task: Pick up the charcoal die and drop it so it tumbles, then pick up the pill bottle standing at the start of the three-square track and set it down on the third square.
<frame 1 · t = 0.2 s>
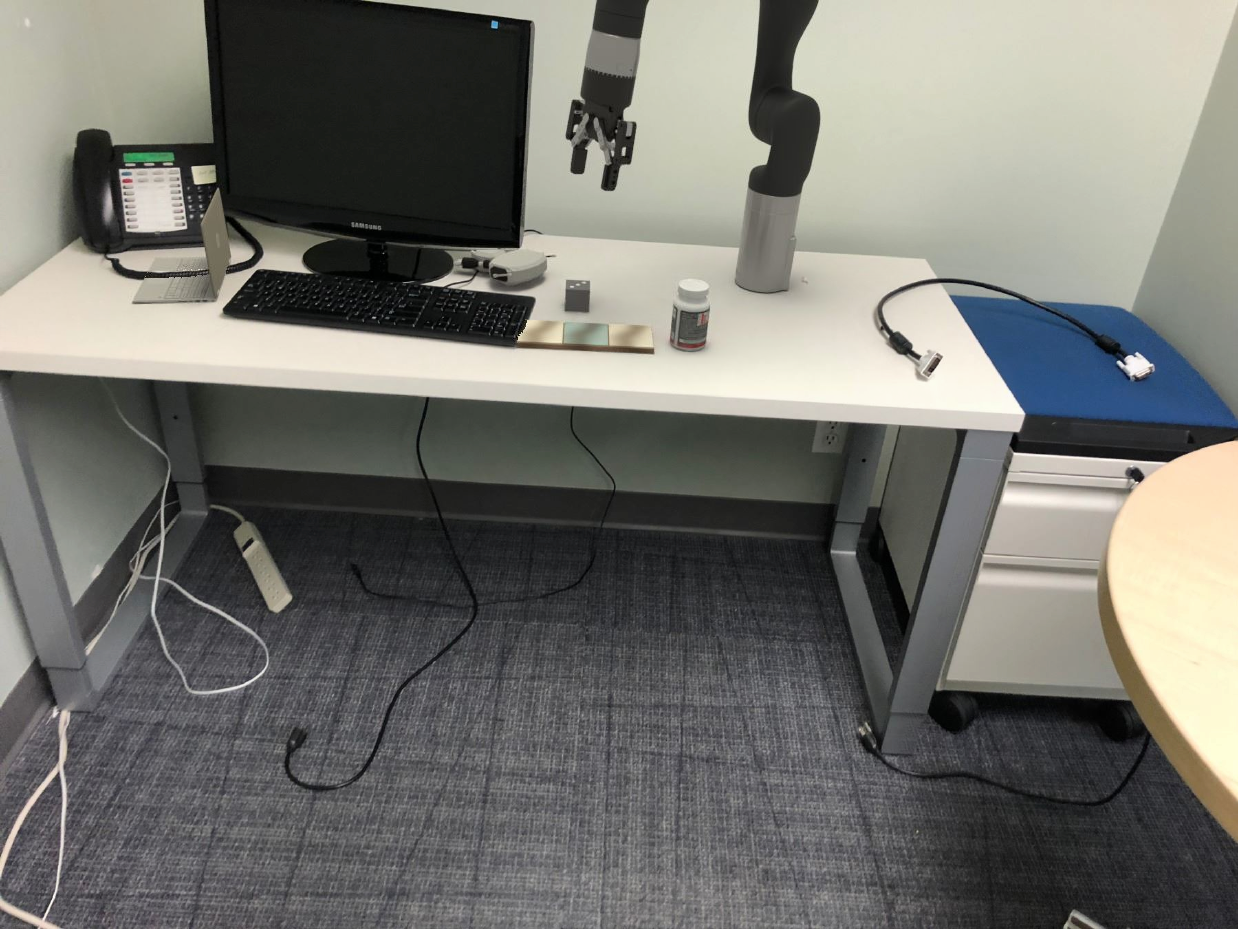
hand: (591, 181, 141), 22 cm above the table, tool pointing down, fingers open, 8 cm apart
die: (577, 307, 156), on the table
laptop: (185, 283, 155), on the table
pill bottle: (687, 345, 147), on the table
robot toy: (504, 277, 166), on the table
board: (585, 339, 146), on the table
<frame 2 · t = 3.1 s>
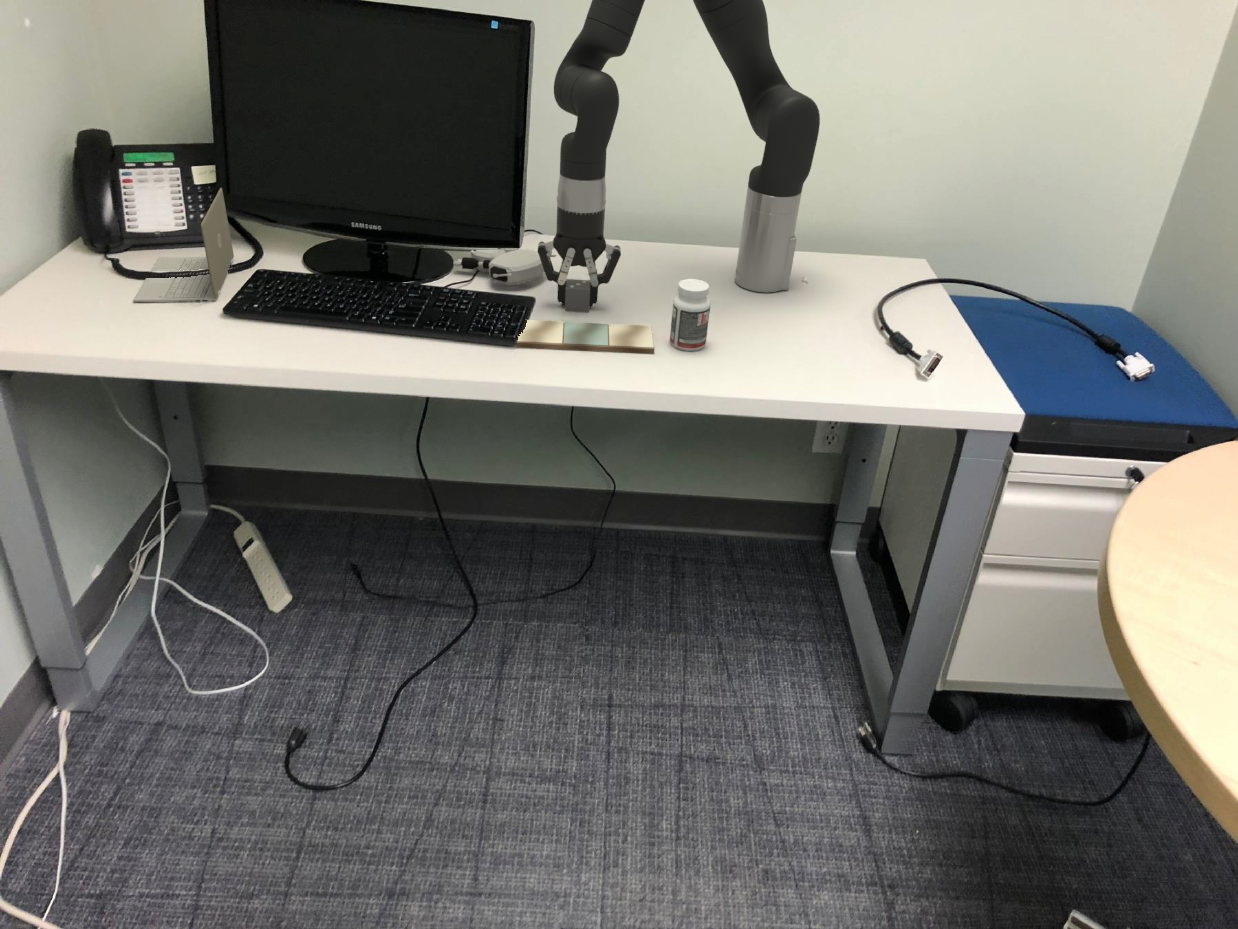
hand: (577, 303, 156), 0 cm above the table, tool pointing down, fingers closed on die, 4 cm apart
die: (577, 306, 156), on the table, touching gripper
everything else where it was.
when the fingers open (8 cm above the table, at t = 4.1 s): die drops 8 cm, on the table.
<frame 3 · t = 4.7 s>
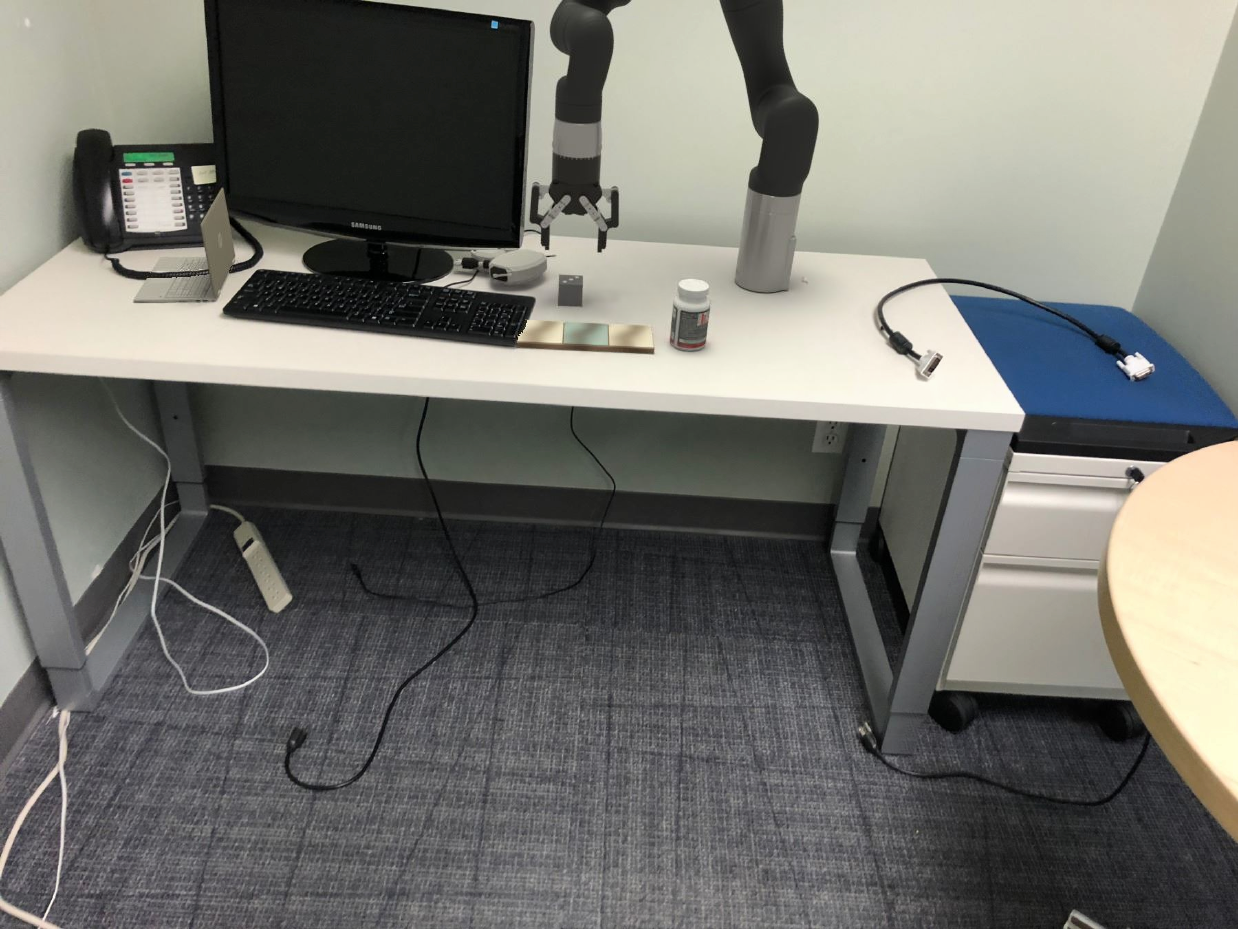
hand: (573, 249, 153), 9 cm above the table, tool pointing down, fingers open, 8 cm apart
die: (570, 301, 158), on the table
everything else where it was.
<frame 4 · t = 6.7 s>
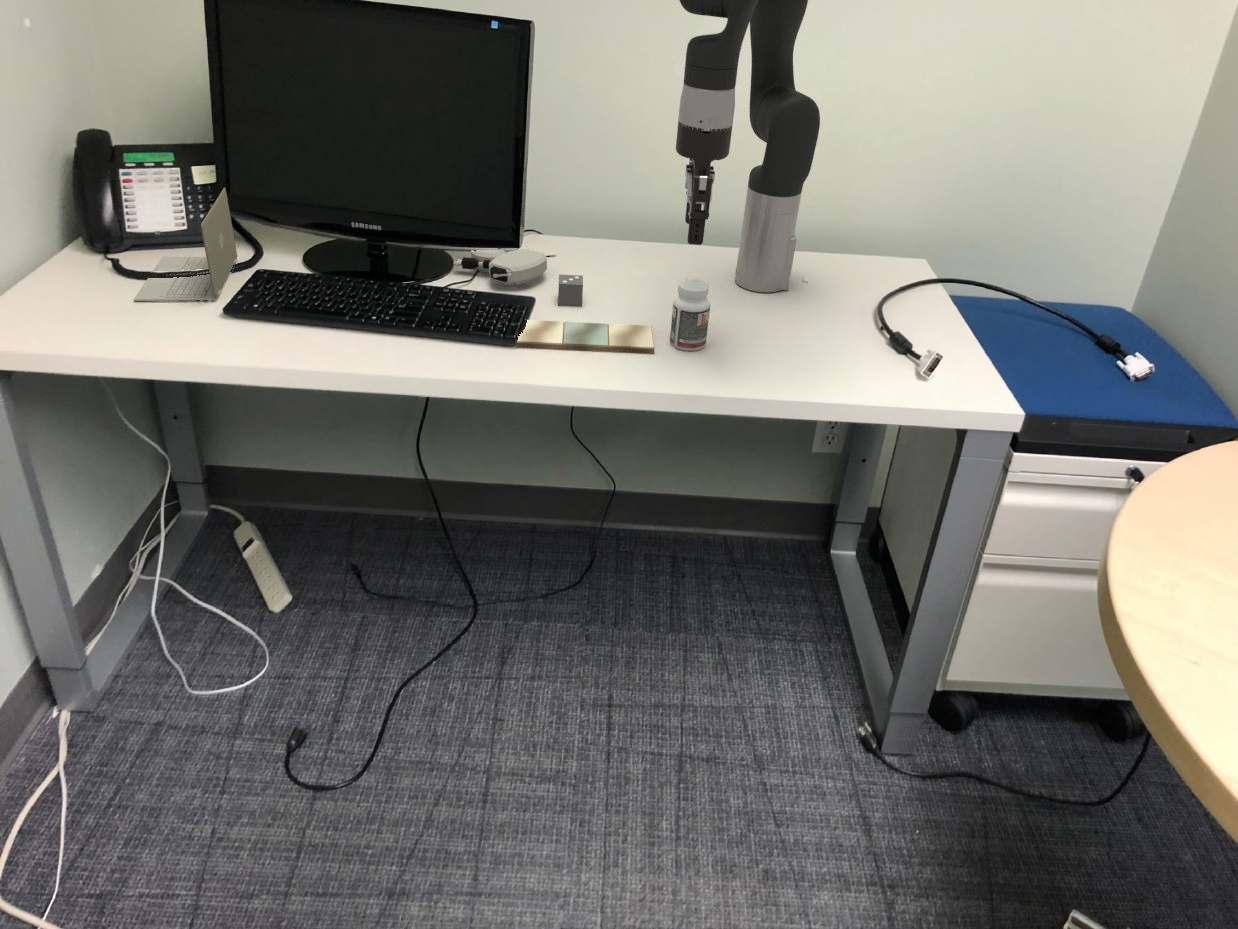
hand: (693, 233, 138), 18 cm above the table, tool pointing down, fingers open, 8 cm apart
nothing on the table moved.
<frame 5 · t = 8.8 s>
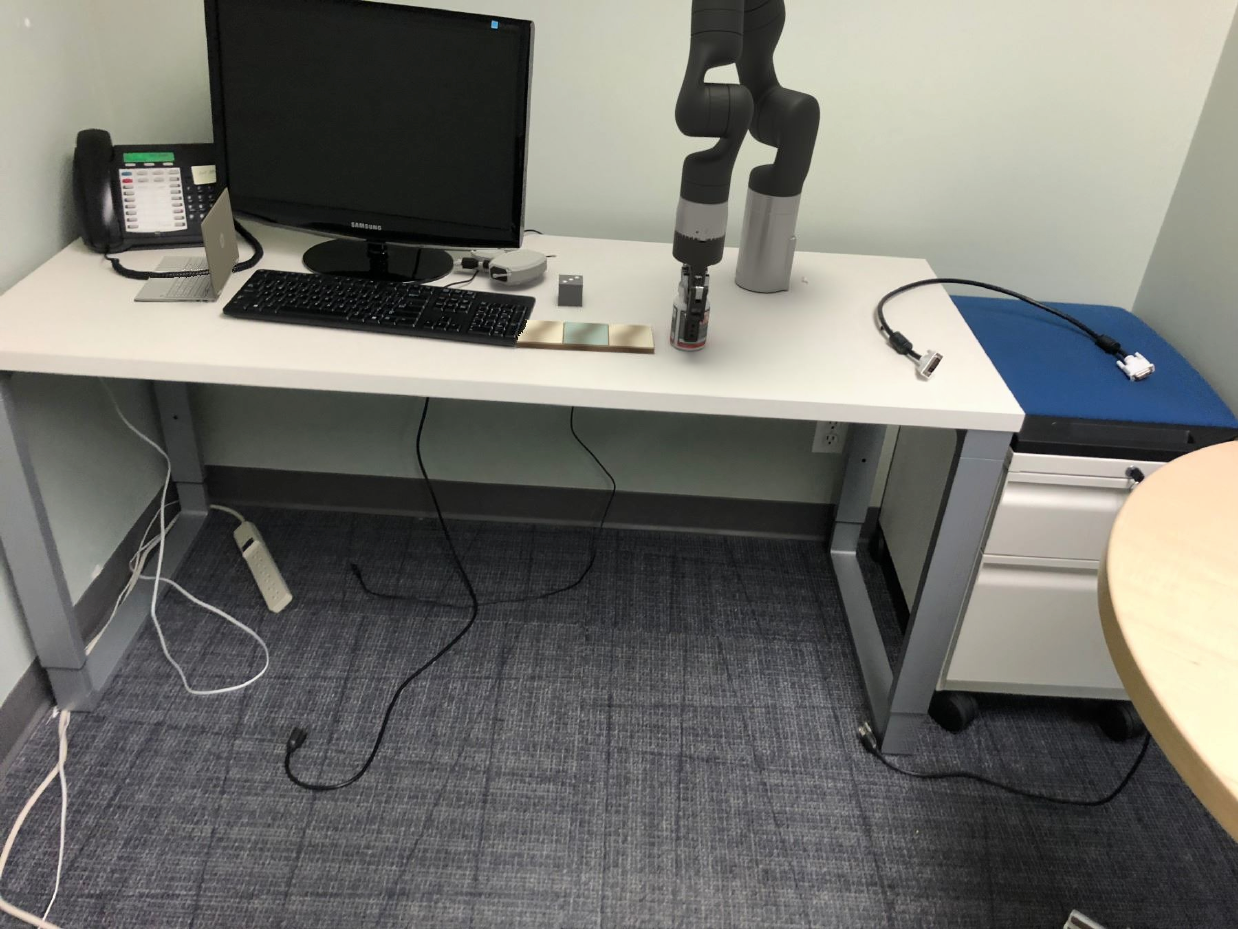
hand: (688, 331, 146), 2 cm above the table, tool pointing down, fingers closed on pill bottle, 5 cm apart
pill bottle: (687, 344, 147), on the table, touching gripper
everything else where it was.
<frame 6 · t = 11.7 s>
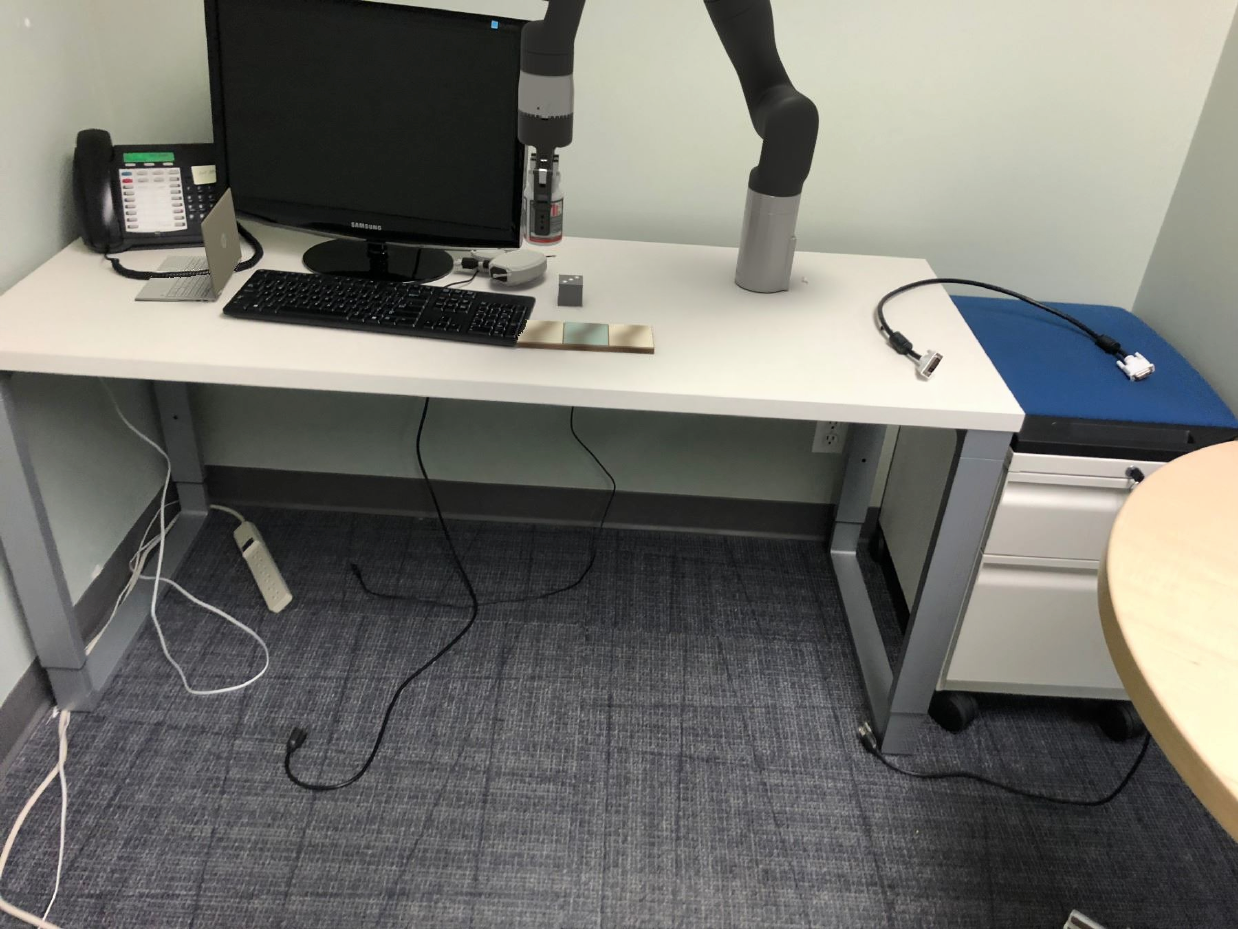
hand: (543, 226, 136), 18 cm above the table, tool pointing down, fingers closed on pill bottle, 5 cm apart
pill bottle: (542, 241, 137), point 15 cm above the table, touching gripper
when the fingers open (4 cm above the table, at t = 14.7 s): pill bottle drops 1 cm, resting on board.
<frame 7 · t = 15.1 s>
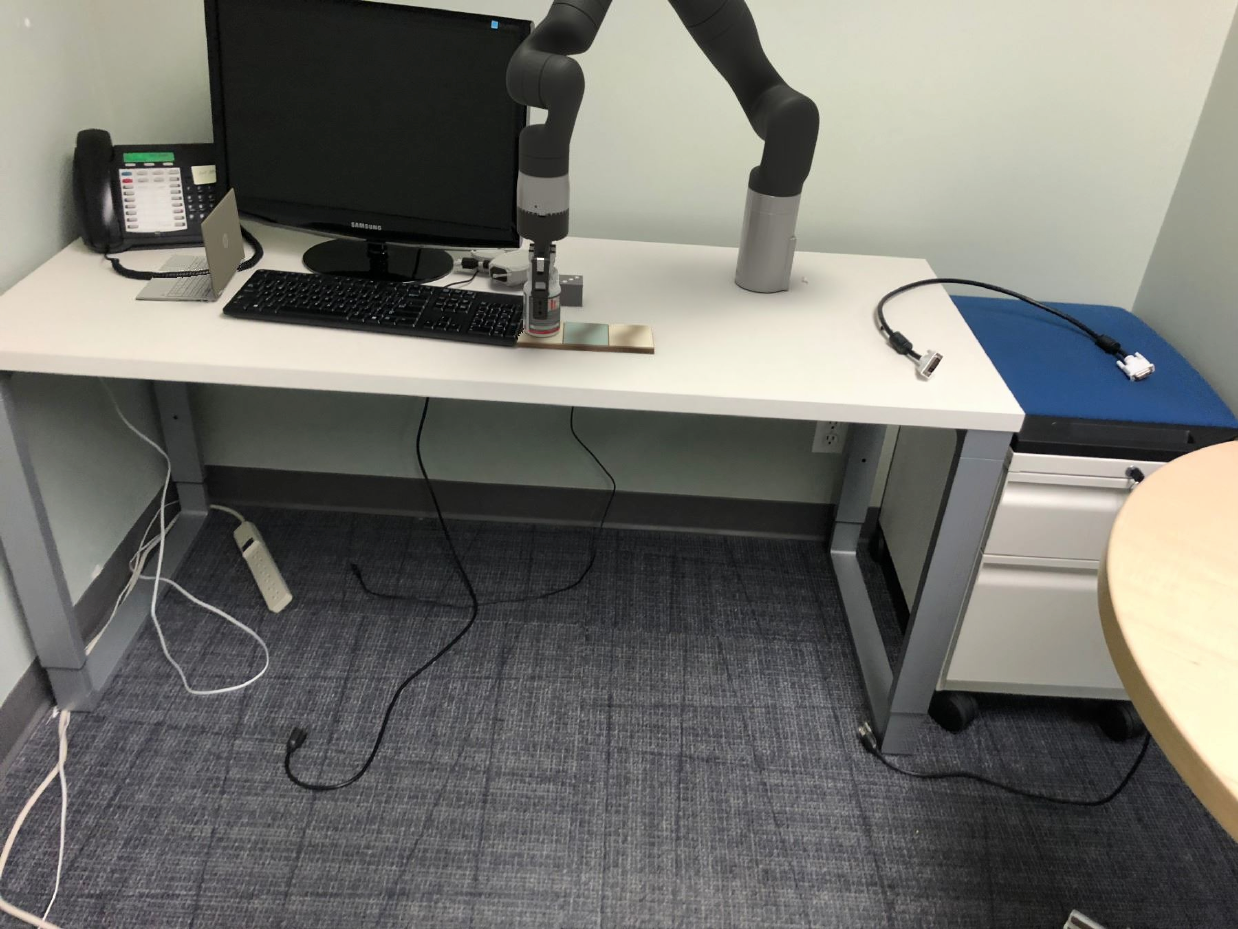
hand: (541, 306, 143), 5 cm above the table, tool pointing down, fingers open, 8 cm apart
pill bottle: (541, 331, 146), point 1 cm above the table, touching board
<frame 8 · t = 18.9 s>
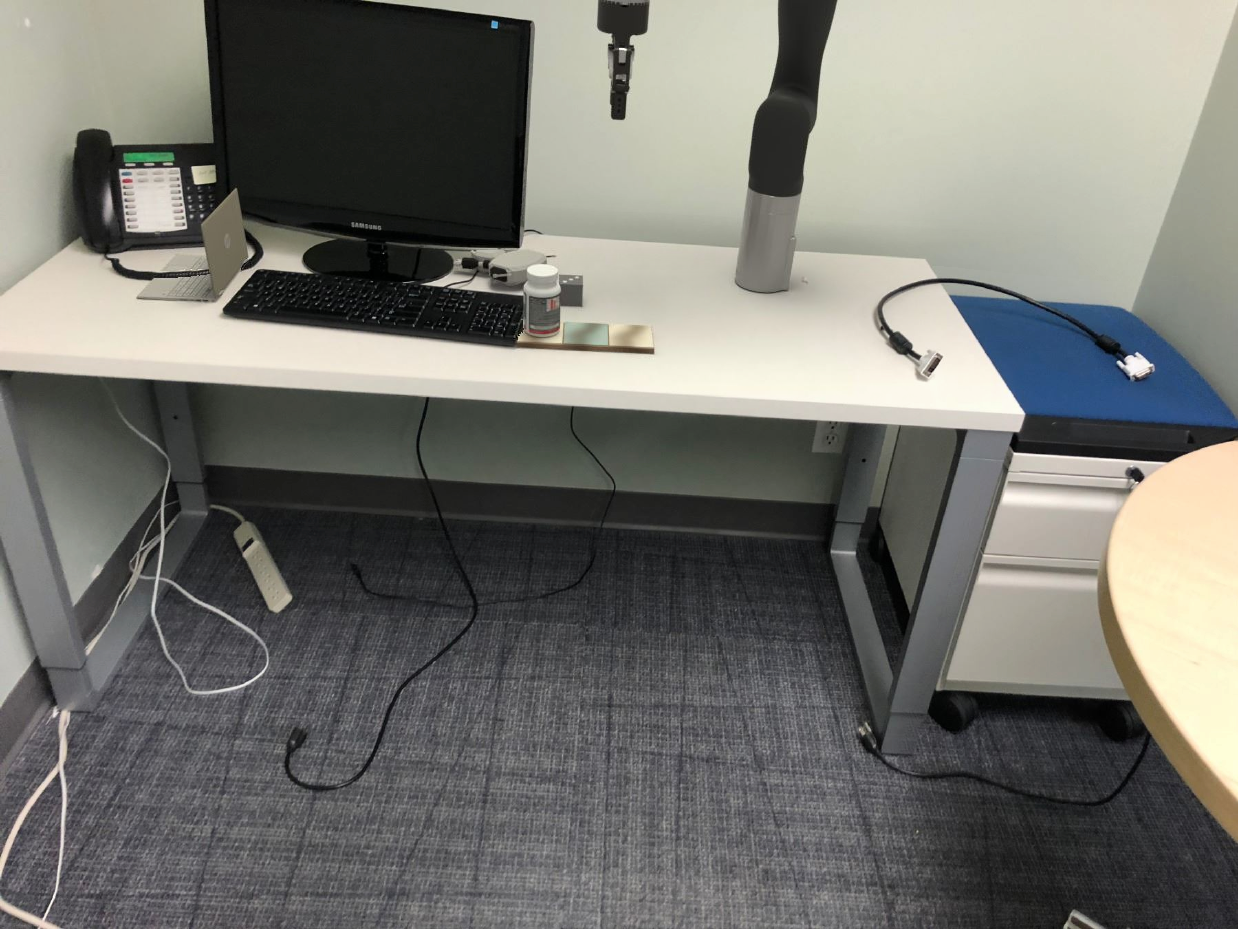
hand: (617, 112, 145), 30 cm above the table, tool pointing down, fingers open, 8 cm apart
at the end: pill bottle inside the target area on the board (0.3 cm from its centre), point 0.8 cm above the board's base; pill bottle tilted 0° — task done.
